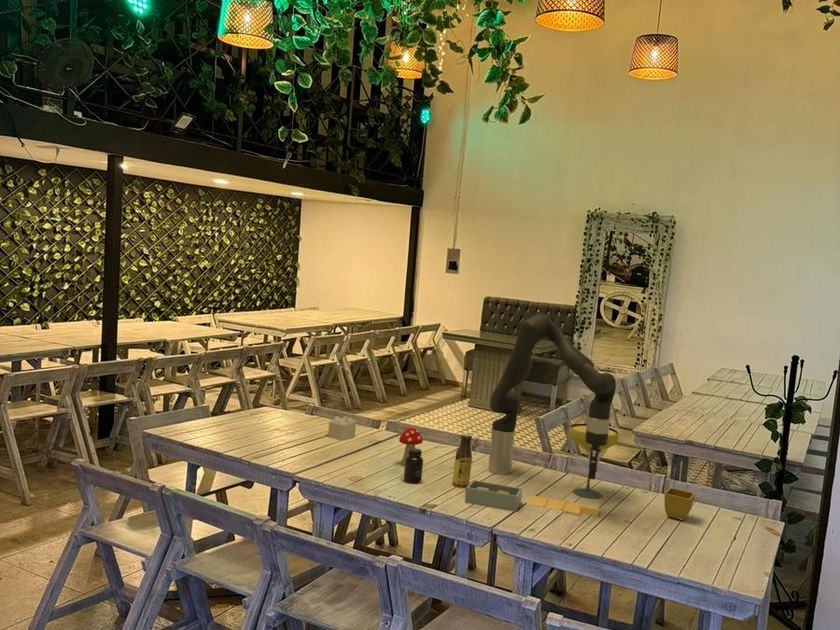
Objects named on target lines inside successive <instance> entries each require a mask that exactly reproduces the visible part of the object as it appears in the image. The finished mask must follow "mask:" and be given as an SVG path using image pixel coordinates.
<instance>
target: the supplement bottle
mask: <svg viewBox="0 0 840 630" xmlns="http://www.w3.org/2000/svg"><path fill="white" fill-rule="evenodd" d="M408 454H409V455H408V456H407V457H406V459H405V466H404V468H403V469H404V470H403V471H404V472H403V481H404V482H405V481H406V483H409V484H419V483H421V482H422V477H423V466H424V459H423V457H422V449H420V448H416V447H415V448H411V449H409V453H408Z"/></svg>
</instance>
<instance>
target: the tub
mask: <svg viewBox="0 0 840 630" xmlns="http://www.w3.org/2000/svg"><path fill="white" fill-rule="evenodd" d="M478 487H482V488H489V491H487V490H481V489H477V488H478ZM499 490H501V491H505V492H509V493H510V495H509V494H504V493H498V491H499ZM522 496H523V488H521V487H517V486H516V487H514V486H511V485H505V484H499V483H494V482H487V481H480V480H475V479H472V480H471V481H470V482H469V484H468V486H467V487H465V497H464V503H468V504H472V505H477V506H484V507H489V508H494V509H500V510H505V511H510V512H515V513H517V511H518V510H519V508H520V506H521V503H522Z"/></svg>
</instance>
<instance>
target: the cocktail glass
mask: <svg viewBox="0 0 840 630" xmlns="http://www.w3.org/2000/svg"><path fill="white" fill-rule="evenodd" d="M586 429H587V423H575V424H574V423H573V424H572V425H570V427H569V432H568V435H569V437H570V439H571V440H572V441H573V442H574V443H575V444H577V445H578V446H580V447H581V448H583V449H584V450H585V451H586V453H587V454H588V455H589V449H590V447H592V445H591V444H588V443H586V441H585V438H586ZM618 440H619V432H618V431H617V430H616V429H614V428H611V427H609V432H608V441H607V445H605V446H600V449H601V451H603V450H606V449H610V448H611V447H613V446H616V444H617V443H618ZM587 474H588V475H587V482H586V487H585V488H582V487H581V488H575V489H573V490H572V493H573V494H574V495H575V496H577V497H581V498H584V499H585V498H586V499H592V498H596V499H599V498H602V496H603V494H602V493H600V492H599V491H597V490H594V489H591V488H590V487H591V486H590V483H591V482H590V481H591V479H589V478H588V477H589V473H587Z"/></svg>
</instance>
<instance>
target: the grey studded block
mask: <svg viewBox="0 0 840 630" xmlns="http://www.w3.org/2000/svg"><path fill="white" fill-rule="evenodd" d="M356 424H357V420H355V419H353V417H348V416H346V415H345V416H343V417H340V416H338V415H337V416H335V417H334V418H333V419H331V420H329V422H328V436H327V437H328V438H330V439H334V440H337V441H348V439H349V440H353V439H355V437H356V428H357V427H356Z"/></svg>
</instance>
